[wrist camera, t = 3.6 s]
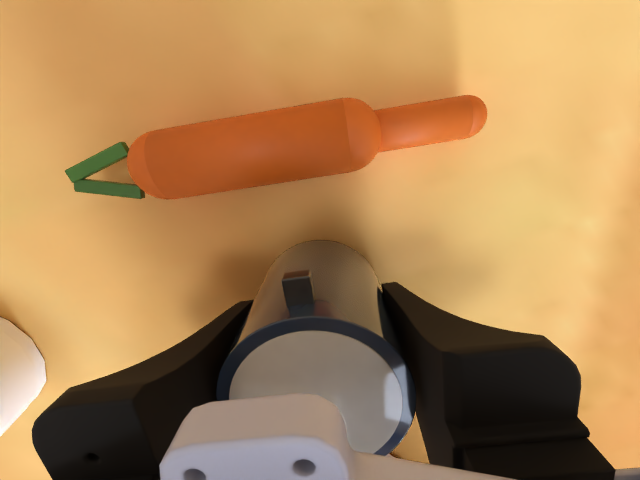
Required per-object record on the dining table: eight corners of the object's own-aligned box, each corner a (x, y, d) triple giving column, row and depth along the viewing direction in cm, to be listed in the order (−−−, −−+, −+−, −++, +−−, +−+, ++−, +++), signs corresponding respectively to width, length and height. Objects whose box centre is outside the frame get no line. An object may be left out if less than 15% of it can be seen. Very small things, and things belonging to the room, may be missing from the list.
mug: (371, 214, 13) (408, 275, 7) (385, 350, 15) (424, 490, 9) (248, 232, 14) (181, 304, 7) (278, 362, 16) (246, 503, 10)
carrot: (112, 206, 14) (63, 219, 11) (90, 146, 13) (32, 146, 10) (472, 150, 12) (508, 151, 10) (472, 80, 12) (510, 63, 9)
